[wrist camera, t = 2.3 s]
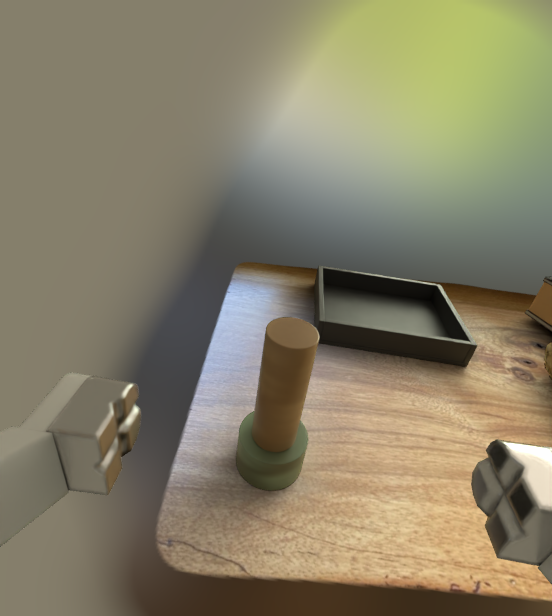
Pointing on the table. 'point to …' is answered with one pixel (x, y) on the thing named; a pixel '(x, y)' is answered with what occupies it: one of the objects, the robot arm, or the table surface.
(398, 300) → the pan
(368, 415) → the table surface
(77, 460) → the robot arm
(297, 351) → the tan cylinder
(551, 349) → the sponge
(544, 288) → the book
